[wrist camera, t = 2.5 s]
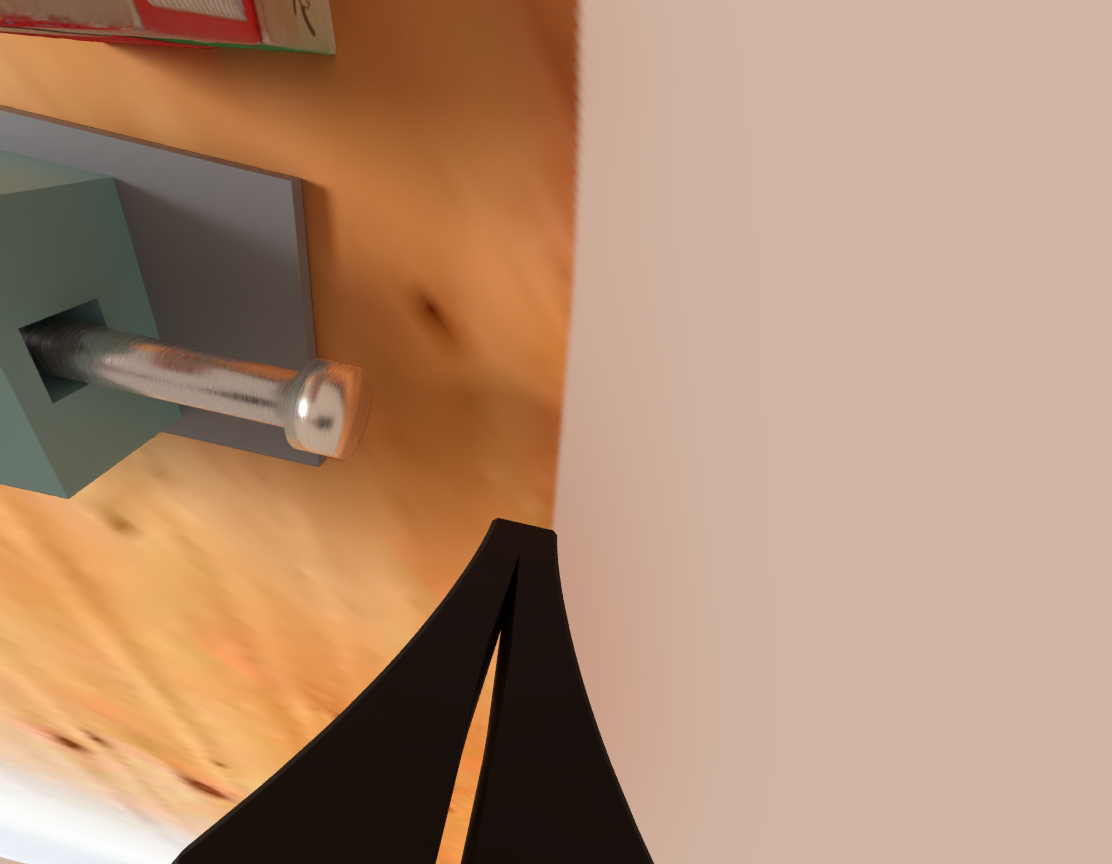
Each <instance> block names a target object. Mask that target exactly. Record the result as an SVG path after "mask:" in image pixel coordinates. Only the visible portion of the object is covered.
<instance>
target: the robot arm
mask: <svg viewBox="0 0 1112 864" xmlns="http://www.w3.org/2000/svg"><path fill="white" fill-rule="evenodd" d="M500 631H501V634H500ZM499 634H500V641H499V649H498V656H497V664H496V671H495V679H494V686H493V694H492V701H491V709H490V716H489V724H488V731H487V738H486V744H485V750H484V756H483V762H482V766H481V771H480V776H479V780H478V785H477V790H476V795H475V799H474V804H473V809H472V813H471V818H470V823H469V827H468V832H467V837H466V841H465V846H464V851H463V855H462V860H461V864H654V863H653V860H652V858H651V856H650V854H649V852H648V850H647V847H646V845H645V843H644V841H643V838H642V836H641V834H640V832H639V830H638V828H637V825H636V823H635V820H634V818H633V815H632V813H631V811H630V808H629V806H628V803H627V801H626V798H625V796H624V794H623V791H622V789H621V787H620V784H619V782H618V779H617V777H616V775H615V772H614V769H613V767H612V765H611V762H610V760H609V757H608V754H607V751H606V748H605V746H604V743H603V740H602V737H601V735H600V732H599V729H598V726H597V723H596V721H595V717H594V714H593V711H592V709H591V706H590V702H589V699H588V696H587V693H586V689H585V686H584V683H583V679H582V676H581V673H580V669H579V665H578V661H577V657H576V654H575V651H574V646H573V642H572V638H571V634H570V629H569V624H568V619H567V615H566V610H565V605H564V600H563V594H562V588H561V581H560V574H559V565H558V554H557V535H556V533H555V532H554V531H553V530H549V529H544V528H540V527H536V526H531V525H527V524H522V523H518V522H514V521H509V520H505V519H500V518H497V519H495V520H493V521H492V523H491V525H490V528H489V530H488V532H487V534H486V536H485V538H484V540H483V542H482V543H481V545H480V547H479V548H478V550H477V552H476V553H475V555H474V557H473V558H472V560H471V561H470V563H469V564H468V566H467V567H466V569H465V570H464V572H463V573H462V575H461V576H460V577H459V579H458V580H457V582H456V583H455V584H454V586H453V587H452V589H451V590H450V591H449V593H448V594H447V596H446V597H445V598H444V600H443V601H442V602H441V603H440V605H439V606H438V607H437V608H436V610H435V611H434V612H433V613H432V615H431V616H430V617H429V618H428V620H427V621H426V622H425V623H424V625H423V626H422V627H421V628H420V630H419V631H418V632H417V633H416V634H415V636H414V637H413V638H412V639H411V640H410V641H409V642H408V644H407V645H406V646H405V647H404V648H403V649H402V650H401V652H400V653H399V654H398V655H397V656H396V657H395V658H394V659H393V660H392V661H391V663H390V664H389V665H388V666H387V667H386V668H385V669H384V670H383V671H382V672H381V673H380V674H379V675H378V676H377V678H376V679H375V680H374V681H373V682H372V683H371V684H370V685H369V686H368V687H367V688H366V689H365V690H364V691H363V692H362V693H361V694H360V695H359V696H358V697H357V698H356V699H355V700H354V701H353V702H352V703H351V704H350V705H349V706H348V707H347V708H346V709H345V710H344V711H343V712H342V713H341V714H340V715H339V716H338V717H337V718H336V719H334V720H333V721H332V722H331V723H330V724H329V725H328V726H327V727H326V728H325V729H324V730H323V731H322V732H321V733H319V734H318V735H317V736H316V737H315V738H314V739H313V740H312V741H311V742H309V743H308V744H307V745H306V746H305V747H304V748H303V749H302V750H301V751H299V752H298V753H297V754H296V755H295V756H294V757H293V758H292V759H291V760H290V761H288V762H287V763H286V764H285V765H284V766H283V767H282V768H281V769H280V770H278V771H277V772H276V773H275V774H274V775H273V776H272V777H270V778H269V779H268V780H267V781H266V782H265V783H263V784H262V785H261V786H260V787H259V788H258V789H256V790H255V791H254V792H253V793H252V794H250V795H249V796H248V797H247V798H246V799H244V800H243V801H242V802H241V803H239V804H238V805H237V806H236V807H235V808H233V809H232V810H231V811H230V812H228V813H227V814H226V815H225V816H224V817H222V818H221V819H220V820H219V821H218V822H216V823H215V824H214V825H213V826H211V827H210V828H209V829H208V830H207V831H205V832H204V833H203V834H202V835H200V836H199V837H198V838H197V839H196V840H194V841H193V842H192V843H191V844H190V845H188V846H187V847H186V848H185V849H184V850H183V851H182V852H181V853H180V854H179V855H178V857H177V858H176V859H175V860H174V861H173V862H172V864H436V860H437V856H438V852H439V847H440V843H441V839H442V835H443V831H444V826H445V822H446V818H447V814H448V810H449V806H450V801H451V797H452V793H453V789H454V785H455V780H456V776H457V772H458V768H459V764H460V760H461V755H462V752H463V748H464V745H465V741H466V738H467V734H468V731H469V728H470V724H471V721H472V718H473V715H474V712H475V709H476V706H477V703H478V700H479V696H480V693H481V690H482V687H483V684H484V681H485V678H486V675H487V671H488V668H489V665H490V662H491V659H492V656H493V653H494V650H495V646H496V643H497V640H498V637H499Z"/></svg>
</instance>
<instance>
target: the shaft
mask: <svg viewBox="0 0 1112 864" xmlns="http://www.w3.org/2000/svg"><path fill="white" fill-rule="evenodd" d="M18 330H19V332H20V334H21V336H22V338H23V340H24V343H25V345H26V347H27V349H28V351H29V353H30V356H31V358H32V360H33V362H34V364H35V366H36V368H37V371H38V372H43V373H47V374H51V375H56V376H60V377H65V378H69V379H73V380H78V381H82V382H87V383H91V384H95V385H100V386H104V387H109V388H113V389H117V390H122V391H126V392H131V393H135V394H139V395H144V396H148V397H153V398H157V399H161V400H166V401H170V402H174V403H179V404H183V405H188V406H192V407H196V408H201V409H205V410H210V411H214V412H218V413H223V414H227V415H232V416H236V417H240V418H245V419H249V420H254V421H258V422H262V423H267V424H271V425H276V426H280V427H284V430H285V435H286V438H287V441H288V443H289V444H290V445H291V446H292V447H293V448H295V449H298V450H303V451H307V452H312V453H316V454H320V455H325V456H329V457H334V458H338V459H345V458H347V457H348V456H349V455H350V454H351V453H352V452H353V451H354V450H355V449H356V447H357V445H358V444H359V442H360V440H361V438H362V436H363V434H364V431H365V428H366V425H367V422H368V419H369V415H370V410H371V404H372V381H371V377H370V374H369V373H368V371H367V370H366V369H364V368H361V367H356V366H352V365H348V364H344V363H339V362H335V361H331V360H326V359H322V358H314V359H311V360H310V361H308V362H307V363H306V364H305V365H304V366H303V367H302V368H301V369H300V371H299V372H298V371H294V370H290V369H285V368H281V367H277V366H272V365H268V364H264V363H259V362H255V361H251V360H247V359H242V358H238V357H234V356H229V355H225V354H221V353H216V352H212V351H208V350H203V349H199V348H195V347H190V346H186V345H182V344H177V343H173V342H169V341H164V340H160V339H156V338H151V337H147V336H143V335H139V334H134V333H130V332H126V331H121V330H117V329H113V328H108V327H104V326H100V325H95V324H91V323H87V322H82V321H78V320H74V319H69V318H65V317H61V316H56V315H52V316H50V317H47V318H44V319H42V320H39V321H37V322H34V323H32V324H29V325H26V326H24V327H21V328H19V329H18Z"/></svg>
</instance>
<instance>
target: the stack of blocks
mask: <svg viewBox="0 0 1112 864" xmlns="http://www.w3.org/2000/svg"><path fill="white" fill-rule="evenodd" d="M0 33H9V34H19V35H28V36H41V37H49V38H65V39H72V40H80V41H90V42H107V43H126V44H140V45H156V46H176V47H190V48H206V49H211V48H214V47H233V48H247V49H261V50H274V51H288V52H304V53H318V54H327V55H333V54H335V53H336V43H335V36H334V30H333V24H332V17H331V11H330V4H329V0H0Z"/></svg>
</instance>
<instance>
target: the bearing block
mask: <svg viewBox="0 0 1112 864" xmlns="http://www.w3.org/2000/svg"><path fill="white" fill-rule="evenodd" d="M52 315H56V316H61V317H65V318H69V319H74V320H78V321H82V322H87V323H91V324H95V325H100V326H104V327H108V328H113V329H117V330H121V331H126V332H130V333H134V334H139V335H143V336H147V337H151V338H156V339H160V340H164V341H169V342H173V343H177V344H182V345H186V346H190V347H195V348H199V349H203V350H208V351H212V352H216V353H221V354H225V355H229V356H234V357H238V358H242V359H247V360H251V361H255V362H259V363H264V364H268V365H272V366H277V367H281V368H285V369H290V370H294V371H298V372H299V371H300V369H301V368H302V367H303V366H304V365H305V364H306V363H307V362H308V361H310V360H311V359H314V358H317V355H316V344H315V332H314V321H313V309H312V298H311V286H310V274H309V263H308V251H307V240H306V228H305V217H304V205H303V194H302V182H301V179H300V178H296V177H292V176H288V175H284V174H280V173H276V172H272V171H268V170H263V169H259V168H255V167H251V166H247V165H243V164H239V163H235V162H231V161H227V160H223V159H218V158H214V157H210V156H206V155H202V154H198V153H194V152H190V151H186V150H182V149H177V148H173V147H169V146H165V145H161V144H157V143H153V142H149V141H145V140H141V139H137V138H132V137H128V136H124V135H120V134H116V133H112V132H108V131H104V130H100V129H96V128H91V127H87V126H83V125H79V124H75V123H71V122H67V121H63V120H59V119H55V118H51V117H46V116H42V115H38V114H34V113H30V112H26V111H22V110H18V109H14V108H10V107H5V106H1V105H0V484H2V485H7V486H11V487H16V488H20V489H25V490H29V491H34V492H39V493H43V494H48V495H52V496H57V497H61V498H66V499H69V498H71V497H72V496H73V495H75V494H76V493H77V492H79V491H80V490H82V489H83V488H84V487H86V486H87V485H88V484H90V483H91V482H92V481H94V480H95V479H97V478H98V477H99V476H101V475H102V474H103V473H105V472H106V471H108V470H109V469H110V468H112V467H113V466H114V465H116V464H117V463H118V462H120V461H121V460H123V459H124V458H125V457H127V456H128V455H129V454H131V453H132V452H133V451H135V450H136V449H138V448H139V447H140V446H142V445H143V444H144V443H146V442H147V441H148V440H150V439H151V438H153V437H154V436H155V435H157V434H158V433H159V432H165V433H170V434H174V435H179V436H183V437H187V438H192V439H196V440H201V441H205V442H210V443H214V444H219V445H223V446H227V447H232V448H236V449H241V450H245V451H250V452H254V453H258V454H263V455H267V456H272V457H276V458H281V459H285V460H289V461H294V462H298V463H303V464H307V465H312V466H316V467H320V465H321V464H322V463H323V462H324V460H325V455H320V454H316V453H312V452H307V451H303V450H298V449H295V448H293V447H292V446H291V445H290V444H289V443H288V441H287V438H286V435H285V430H284V427H280V426H276V425H271V424H267V423H262V422H258V421H254V420H249V419H245V418H240V417H236V416H232V415H227V414H223V413H218V412H214V411H210V410H205V409H201V408H196V407H192V406H188V405H183V404H179V403H174V402H170V401H166V400H161V399H157V398H153V397H148V396H144V395H139V394H135V393H131V392H126V391H122V390H117V389H113V388H109V387H104V386H100V385H95V384H91V383H87V382H82V381H78V380H73V379H69V378H65V377H60V376H56V375H51V374H47V373H43V372H38V371H37V368H36V366H35V364H34V362H33V360H32V358H31V356H30V353H29V351H28V349H27V347H26V345H25V343H24V340H23V338H22V336H21V334H20V332H19V330H18V329H19V328H21V327H24V326H26V325H29V324H32V323H34V322H37V321H39V320H42V319H44V318H47V317H50V316H52Z"/></svg>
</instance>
